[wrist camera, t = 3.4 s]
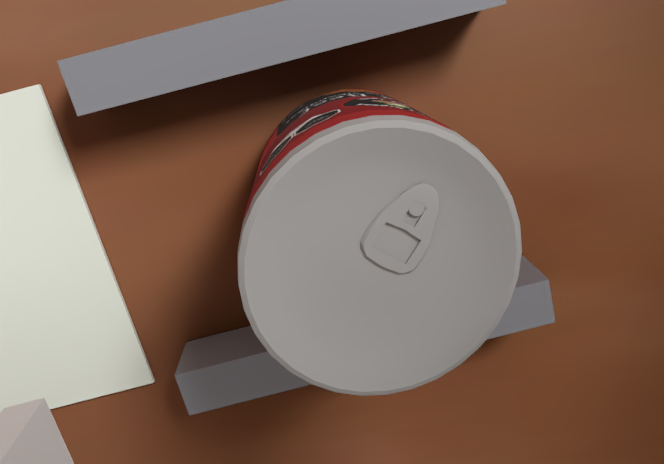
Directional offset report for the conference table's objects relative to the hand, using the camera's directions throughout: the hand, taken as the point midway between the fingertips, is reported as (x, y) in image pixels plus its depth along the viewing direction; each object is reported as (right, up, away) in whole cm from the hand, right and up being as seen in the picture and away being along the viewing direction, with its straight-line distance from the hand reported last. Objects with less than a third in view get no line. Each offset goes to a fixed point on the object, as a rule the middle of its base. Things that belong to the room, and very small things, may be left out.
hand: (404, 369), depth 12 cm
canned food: (-1, +5, +15) cm, 16 cm away
